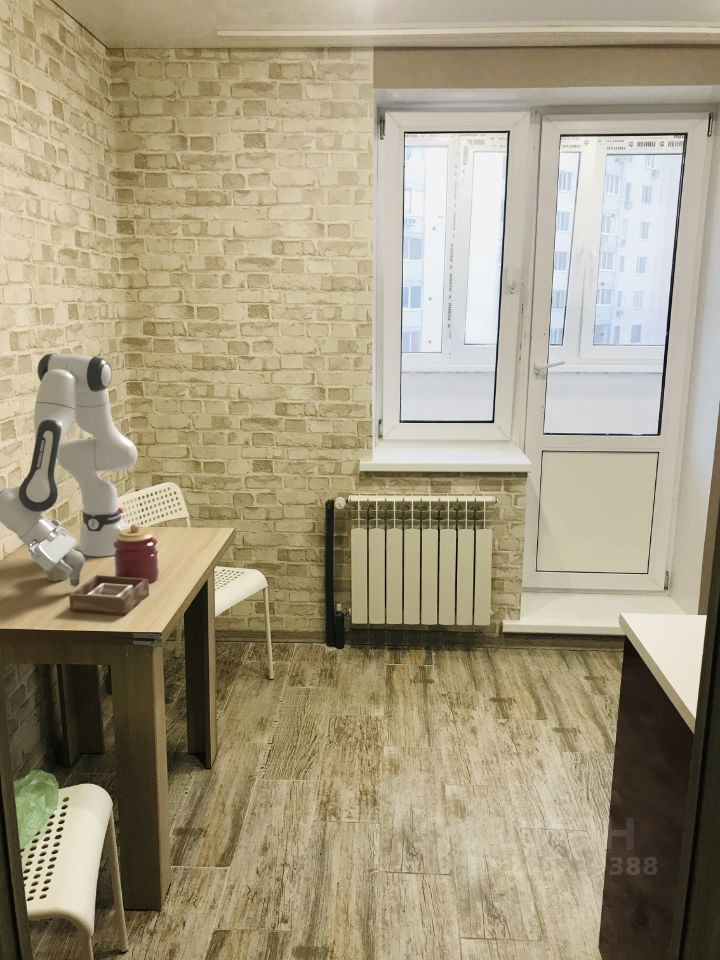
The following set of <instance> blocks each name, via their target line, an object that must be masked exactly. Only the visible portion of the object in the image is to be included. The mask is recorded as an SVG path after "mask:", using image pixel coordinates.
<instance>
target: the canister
mask: <svg viewBox="0 0 720 960" xmlns="http://www.w3.org/2000/svg"><path fill="white" fill-rule="evenodd" d="M154 536H155V533H154V532H153V531H151V530H149V528H146V527H140V526H139V525H138V524H136V523H134V524H133V523H132V524H131V525H130V529H125V530H123V531H121V532H120V533H119V534H117V535H116V539H117V541H115V542H114V544H113V545H114V547H115V548H116V550H115V553H114V555H113V557H114V566H115V567H114V568H115V571H114V576H115V577H129V578H144V579H148V582H149V584H151V583H153V582H156V580H158V578H159V574H160V573H159V572H160V570H159V566H158V565H159V563H158V561H159V560H158V553H159V551H158V549H157V547H156V546H157V544H158V540H157V539H156V538H155V537H154Z"/></svg>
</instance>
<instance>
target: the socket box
mask: <svg viewBox="0 0 720 960" xmlns="http://www.w3.org/2000/svg"><path fill="white" fill-rule="evenodd" d="M149 584H150V583H149V582H148V579H144V578H129V577H115V575H114V576H111V575H95V576H94V577H92V578H90V579H89V580H87V582H85V583H83V584H82V585H81V586H79V587H78V588H76V589H75V590H74V591H72V592H71V593H70V594H69V595H68V596H69V597H68V598H69V612H70V613H80V614H81V613H83V614H93V615H94V614H95V615H107V616H119V617H120V616H121V617H127V615H129V613H130V612H132V611H133V610H134V609H135V608H136V607H137V606H138V605H139V604H141V603H142V602H143V601H144V600H145V599H146V598H148V596H150V588H149ZM142 600H143V601H142ZM141 601H142V602H141ZM140 602H141V603H140Z"/></svg>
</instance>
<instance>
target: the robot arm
mask: <svg viewBox="0 0 720 960" xmlns="http://www.w3.org/2000/svg"><path fill="white" fill-rule="evenodd" d="M36 370H37V376H38V379H39V381H40V384H39V386H38V391H37V394H36V398H35V405H34V412H33V413H34V414H33V423H34V424H33V425H34V434H35V437H34V439H35V440H34V449H33V453H32V459H31V463H30V469H29V472H28V474H27V476H26V477H25V478H24V480H23V481H22V483H21V484H20V485H15V486H13V487H8V488H6V487H5V488H2V490H1V491H0V523H1V524H2V525H3V526H4V527H6V529H8V530H9V531H11V532H13V533H14V534H15V535H16V537H18V539H19V540H20V541H21V542H22V543H23V544H25V546H27V548H28V551H29V553H30V556H31V558H32V559H33V560H34V561H35V562H36V563H37V564H38V566H40V567H41V568H42V569H43V570H45V572H46V571H50V570H51V569H52V568H53V567H54V566H56V567H57V568H59V569H61V570H64V571H65V572H67V573H68V574H70V573H71V572H72V571H73V570H74V568H73V567H72V566H71V565H67V564H65V563H64V561H63V560H62V558H63V557H64V556H65V555H66V554H67V552H69V551H72V550H75V549H74V548H75V547H76V546H77V547H76V551H79V552H81V553H82V554H83V556H88V557H109V556H110V557H111V556H114V553H115V550H116V548H115V547H114V545H113V544H114V542H115V541H117V539H116V535H117V534H119V533H120V532H121V531H123V530H125V529H130V527H131V525H130V524H129V523H127V522H126V521H124V520H123V519H122V515H121V514H123V513H124V507H119V506H118V504H119V503H118V490H117V487H116V486H115V485H114V484H112V482H110V481H108V480H105V479H103V478H102V477H101V476H100V475H99V472H119V471H124V470H130V469H132V468H134V466H135V465H136V462H137V460H138V455H139V454H138V449H137V446H136V445H135V444H134V442H133V441H131V440H130V439H128V438H127V437H126V436H124V434H122V433H121V431H119V430H118V429H117V427H116V425H115V422H114V420H113V418H112V417H113V416H112V411H111V403H110V396H109V388H108V387H109V386H110V385H111V381H112V378H113V376H112V375H113V374H112V373H113V371H112V367H111V365H110V363H109V362H108V361H107V360H106V359H105V358H103V357H99V356H90V355H87V354H86V355H84V354H77V353H73V354H72V353H71V354H70V353H69V354H67V353H65V354H64V353H63V354H61V353H48V354H45V355H43V356H42V358H41V359H40V360H39V361H38V364H37V369H36ZM74 417H75V422H76V423H75V424H76V425H77V426H78V427H79V429H81V430H82V431H84V432H86V433H88V434H90V435H92V436H93V437H94V438H74V439H73V438H72V439H67V440H64V438H65V437H66V436H67V435H68V434H69V432H70V430H71V428H72V425H73V421H74ZM63 440H64V441H63ZM56 463H58V464H59V466H60V467H61V469H63V470H65V471H66V472H68V474H70V475H71V476H72V477H73V478H74V480H75V481H76V482H77V484H78V486H79V488H80V492H81V497H82V505H83V511H82V523H83V524H82V525H81V526H80V528H79V529H80V530H79V532H80V533H79V534H80V535H79V538H80V539H79V545H78V541H77V538H76V537H75V536H74V535H72V533H70V531H68V530H67V529H66V528H65V527H64V526H62V523H61V522H60V521H59V520H58V519H46V518H45V517H43V515H42V514H43V513H45V511H47V510H49V509H51V508H53V507H54V506H55V505H56V504H57V503H58V500H59V497H60V492H59V491H60V490H59V488H58V486H57V484H56V480H55V471H56Z"/></svg>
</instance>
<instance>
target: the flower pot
mask: <svg viewBox="0 0 720 960" xmlns="http://www.w3.org/2000/svg"><path fill="white" fill-rule="evenodd" d="M62 560H63V558H62ZM45 572H46V577H47V580H48V581H49V582H59V581H66V580H68V579H69V575H68V573H67V572H65V571H64V570H61V569H59V568H57V567H56V566H54V567H53V568H52V569H51V570H50V571H46V570H45Z"/></svg>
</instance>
